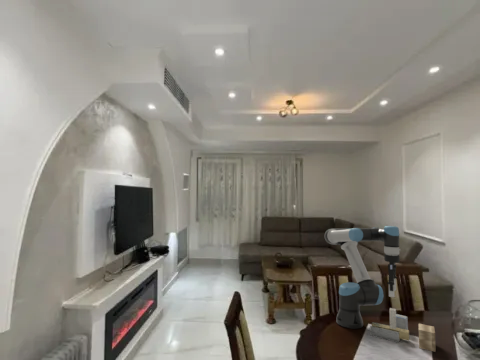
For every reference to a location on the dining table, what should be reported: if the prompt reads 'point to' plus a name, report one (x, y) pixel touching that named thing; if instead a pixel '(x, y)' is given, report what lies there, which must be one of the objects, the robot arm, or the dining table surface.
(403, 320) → the medicine box
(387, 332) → the guide channel
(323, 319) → the dining table surface
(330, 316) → the dining table surface
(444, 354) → the dining table surface
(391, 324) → the tan slab piece
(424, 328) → the socket block
